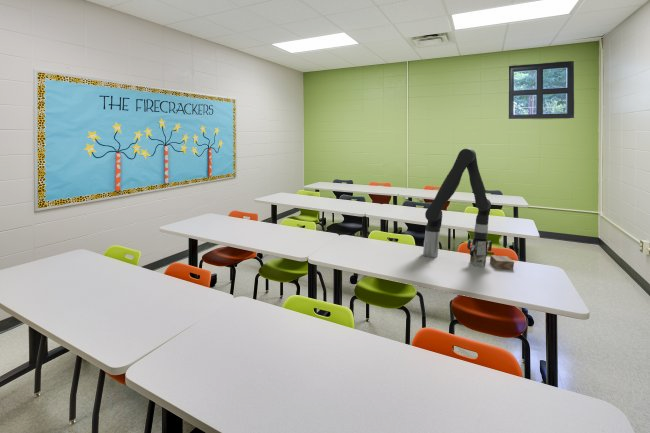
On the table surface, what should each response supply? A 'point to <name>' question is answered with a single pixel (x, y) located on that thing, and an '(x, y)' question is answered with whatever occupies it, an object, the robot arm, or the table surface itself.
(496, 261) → the walnut block
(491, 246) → the robot arm
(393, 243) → the table surface
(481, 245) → the coffee box
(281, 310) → the table surface
